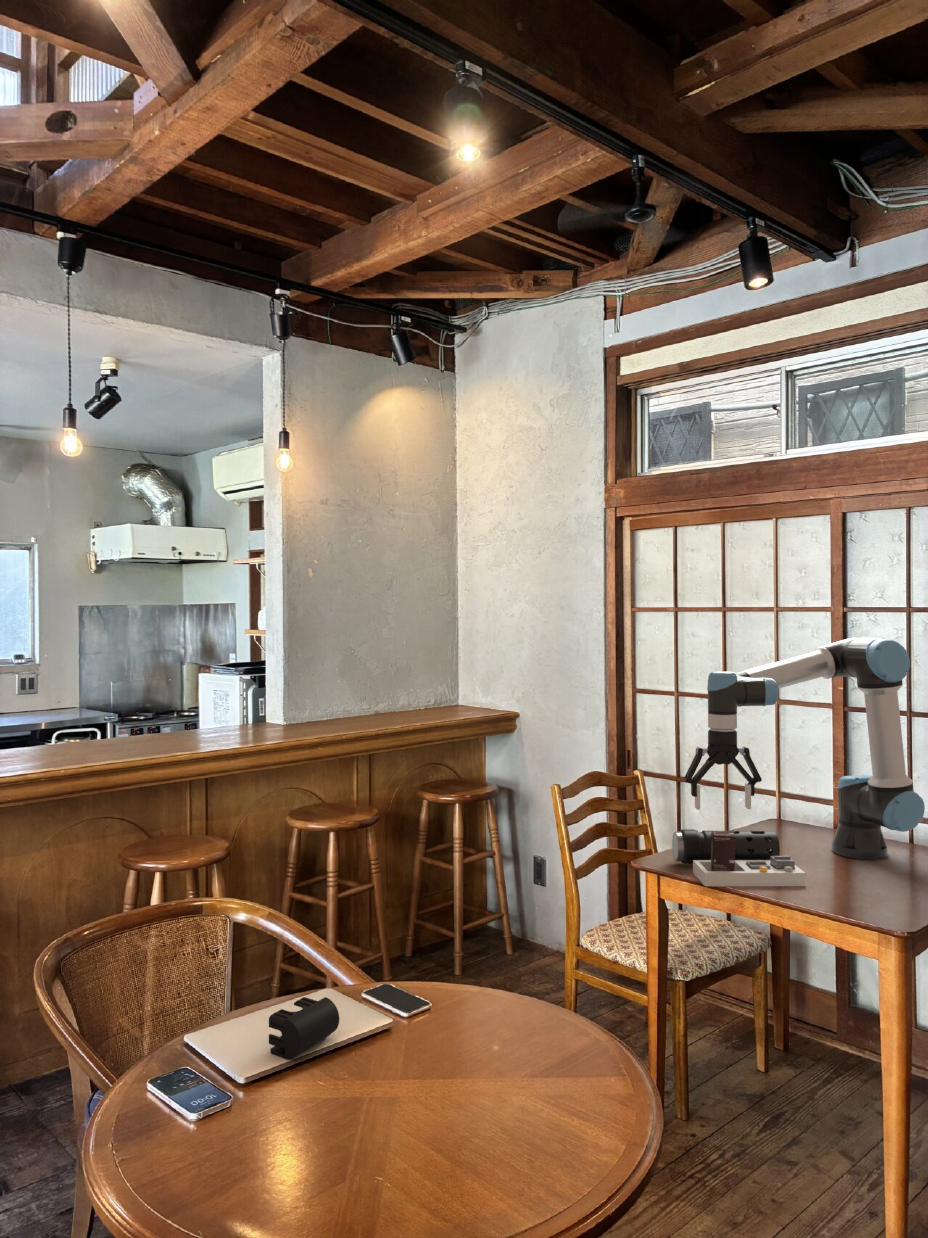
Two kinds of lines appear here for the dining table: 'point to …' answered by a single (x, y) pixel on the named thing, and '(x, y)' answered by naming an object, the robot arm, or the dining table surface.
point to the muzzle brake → (746, 845)
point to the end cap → (302, 1026)
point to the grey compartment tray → (748, 875)
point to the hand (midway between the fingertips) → (722, 808)
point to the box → (722, 851)
